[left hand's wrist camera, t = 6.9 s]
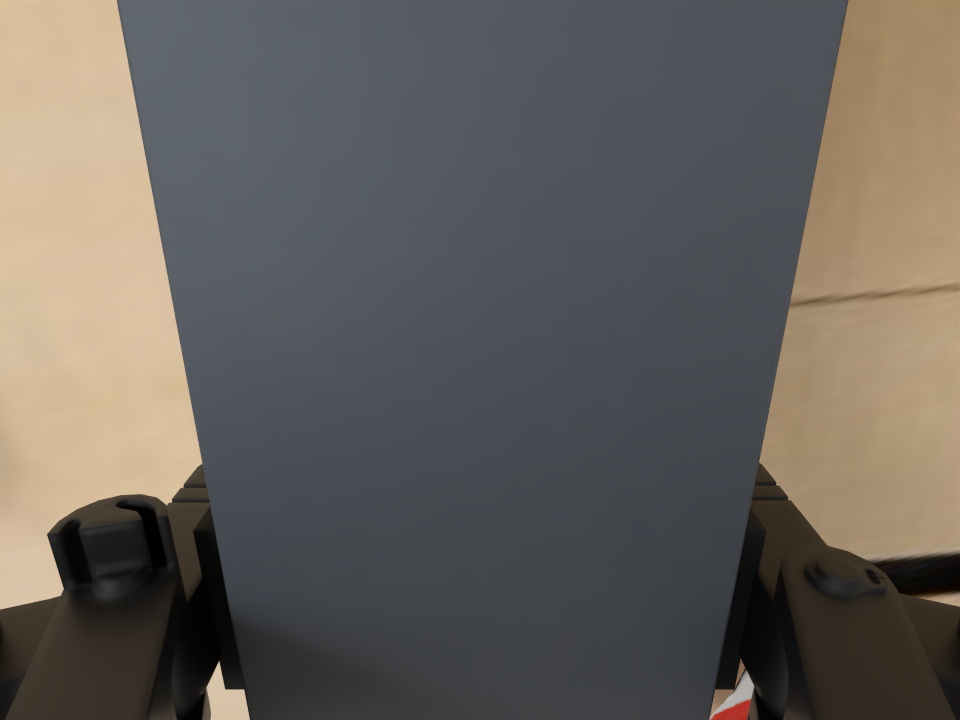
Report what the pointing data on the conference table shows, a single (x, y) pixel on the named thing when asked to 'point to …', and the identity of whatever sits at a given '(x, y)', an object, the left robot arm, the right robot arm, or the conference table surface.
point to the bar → (481, 332)
